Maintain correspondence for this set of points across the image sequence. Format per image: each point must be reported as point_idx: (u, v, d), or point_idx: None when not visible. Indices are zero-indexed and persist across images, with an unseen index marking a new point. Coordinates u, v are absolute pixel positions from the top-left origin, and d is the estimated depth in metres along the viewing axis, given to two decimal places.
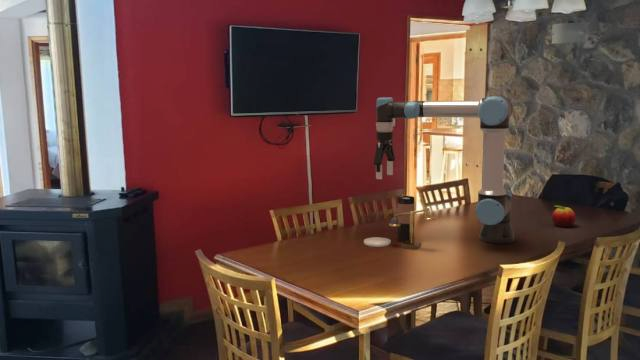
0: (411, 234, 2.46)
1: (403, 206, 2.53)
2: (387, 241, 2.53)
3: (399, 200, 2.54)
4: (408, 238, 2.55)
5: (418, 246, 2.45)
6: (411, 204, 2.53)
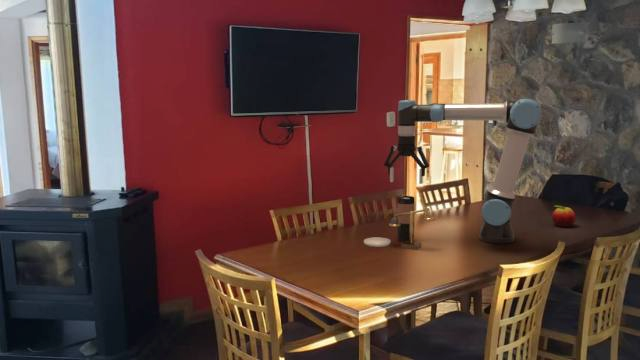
0: (411, 234, 2.46)
1: (403, 206, 2.53)
2: (387, 241, 2.53)
3: (399, 200, 2.54)
4: (408, 238, 2.55)
5: (418, 246, 2.45)
6: (411, 204, 2.53)
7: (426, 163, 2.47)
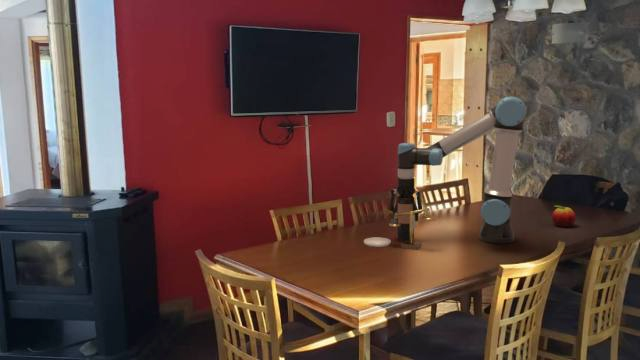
0: (411, 234, 2.46)
1: (403, 206, 2.53)
2: (387, 241, 2.53)
3: (399, 200, 2.54)
4: (408, 238, 2.55)
5: (418, 246, 2.45)
6: (411, 204, 2.53)
7: (420, 209, 2.52)
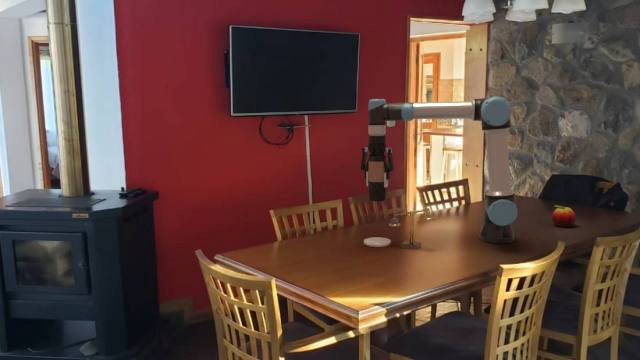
0: (411, 234, 2.46)
1: (373, 164, 2.46)
2: (387, 241, 2.53)
3: (370, 158, 2.47)
4: (379, 197, 2.48)
5: (418, 246, 2.45)
6: (382, 162, 2.46)
7: (391, 166, 2.45)
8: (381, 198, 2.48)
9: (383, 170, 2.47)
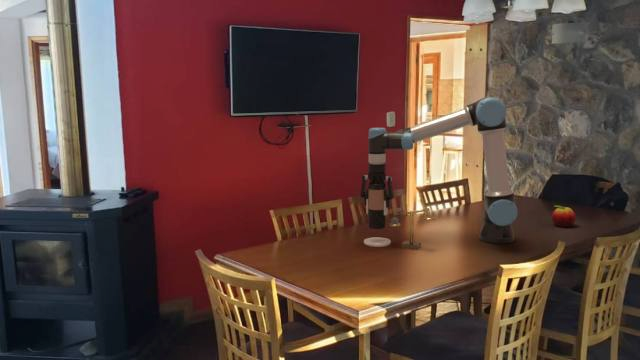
0: (411, 234, 2.46)
1: (373, 192, 2.48)
2: (387, 241, 2.53)
3: (370, 186, 2.49)
4: (379, 225, 2.50)
5: (418, 246, 2.45)
6: (382, 190, 2.48)
7: (391, 195, 2.47)
8: (381, 226, 2.50)
9: (383, 198, 2.49)
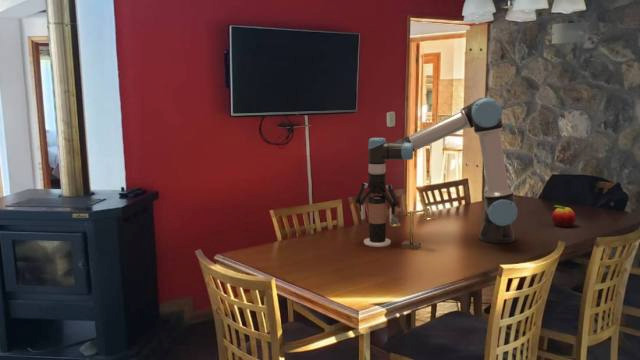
0: (411, 234, 2.46)
1: (373, 206, 2.49)
2: (387, 241, 2.53)
3: (370, 200, 2.50)
4: (379, 238, 2.51)
5: (418, 246, 2.45)
6: (382, 204, 2.49)
7: (396, 201, 2.46)
8: (381, 239, 2.51)
9: (383, 212, 2.49)
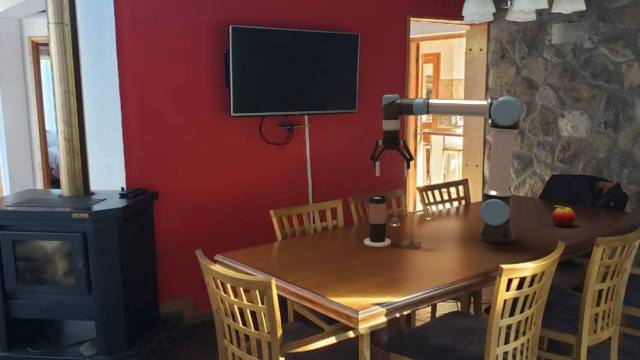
0: (411, 234, 2.46)
1: (374, 206, 2.49)
2: (387, 241, 2.53)
3: (370, 200, 2.50)
4: (379, 238, 2.51)
5: (418, 246, 2.45)
6: (382, 204, 2.49)
7: (411, 156, 2.51)
8: (381, 239, 2.51)
9: (383, 212, 2.50)
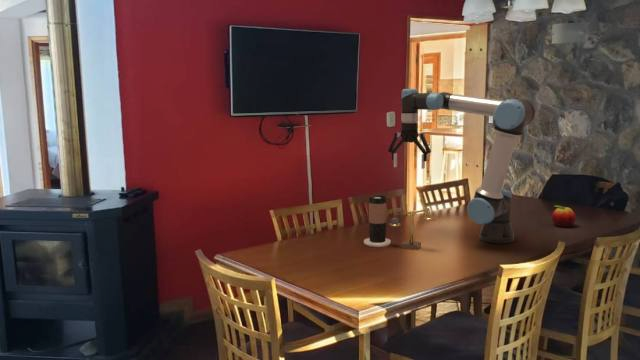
0: (411, 234, 2.46)
1: (374, 206, 2.49)
2: (387, 241, 2.53)
3: (370, 200, 2.50)
4: (379, 238, 2.51)
5: (418, 246, 2.45)
6: (382, 204, 2.49)
7: (428, 149, 2.60)
8: (381, 239, 2.51)
9: (383, 212, 2.50)
